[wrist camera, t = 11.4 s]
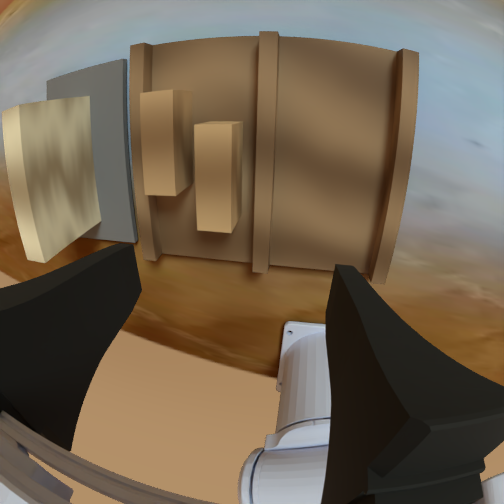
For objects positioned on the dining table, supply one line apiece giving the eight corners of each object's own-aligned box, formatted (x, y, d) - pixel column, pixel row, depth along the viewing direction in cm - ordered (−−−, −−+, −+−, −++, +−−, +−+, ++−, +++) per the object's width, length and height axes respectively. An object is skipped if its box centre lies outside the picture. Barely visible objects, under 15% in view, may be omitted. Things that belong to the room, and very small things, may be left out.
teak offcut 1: (193, 182, 19) (175, 196, 16) (165, 181, 19) (145, 195, 17) (192, 91, 16) (172, 89, 14) (163, 93, 16) (140, 93, 14)
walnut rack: (379, 269, 21) (384, 284, 19) (155, 247, 23) (143, 259, 21) (407, 57, 14) (418, 52, 12) (145, 49, 16) (130, 45, 14)
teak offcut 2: (241, 214, 20) (231, 233, 17) (211, 212, 20) (197, 230, 17) (243, 121, 17) (231, 124, 14) (210, 121, 17) (194, 124, 14)
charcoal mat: (137, 240, 23) (135, 242, 22) (67, 233, 24) (64, 235, 23) (126, 59, 16) (123, 58, 16) (50, 80, 17) (46, 80, 17)
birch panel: (101, 220, 22) (45, 263, 16) (83, 219, 22) (27, 259, 16) (89, 96, 17) (18, 104, 11) (70, 100, 17) (2, 112, 11)
